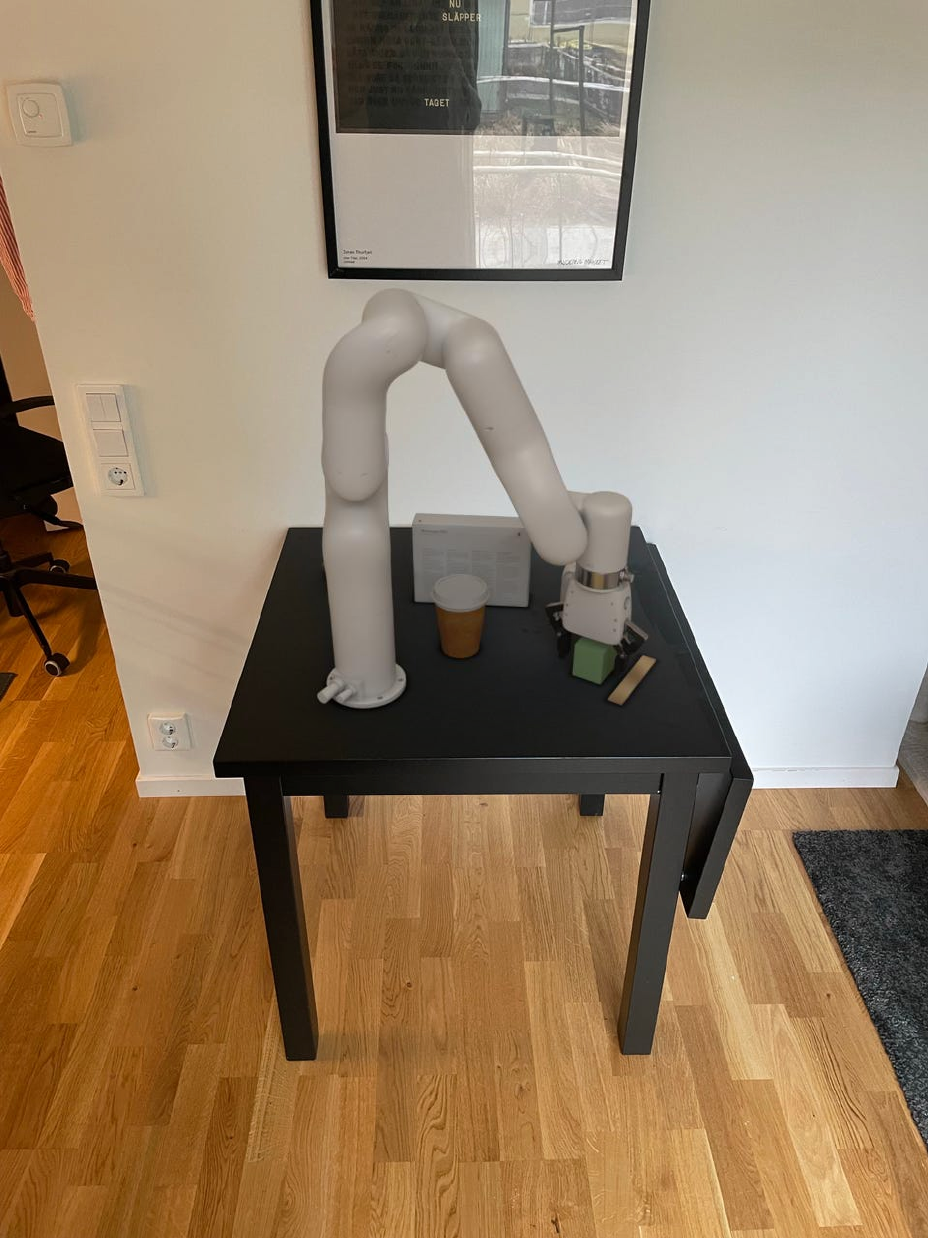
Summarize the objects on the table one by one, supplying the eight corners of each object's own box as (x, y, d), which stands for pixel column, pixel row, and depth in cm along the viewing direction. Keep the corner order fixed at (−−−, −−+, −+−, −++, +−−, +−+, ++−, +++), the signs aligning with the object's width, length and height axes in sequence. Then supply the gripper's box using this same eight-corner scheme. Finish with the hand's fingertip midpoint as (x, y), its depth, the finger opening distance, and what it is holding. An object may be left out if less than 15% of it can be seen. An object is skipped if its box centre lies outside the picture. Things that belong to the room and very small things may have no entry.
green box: (572, 674, 147) (574, 644, 144) (598, 645, 154) (601, 615, 151) (600, 684, 145) (603, 653, 141) (625, 654, 152) (629, 624, 149)
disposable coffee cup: (476, 627, 159) (476, 568, 152) (497, 656, 151) (498, 595, 145) (424, 638, 156) (423, 578, 149) (443, 668, 148) (442, 606, 142)
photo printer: (578, 631, 158) (583, 570, 151) (555, 626, 159) (559, 564, 152) (596, 603, 166) (602, 543, 159) (573, 598, 167) (578, 539, 160)
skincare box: (529, 593, 169) (532, 516, 160) (528, 608, 164) (531, 530, 156) (417, 587, 170) (415, 510, 162) (413, 602, 166) (410, 524, 157)
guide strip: (621, 705, 140) (622, 703, 140) (607, 700, 141) (607, 698, 141) (656, 661, 150) (656, 659, 150) (642, 656, 151) (642, 655, 151)
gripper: (663, 577, 136) (650, 669, 145) (560, 547, 143) (554, 637, 153) (643, 598, 130) (631, 693, 140) (538, 567, 138) (533, 658, 147)
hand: (591, 664), depth 146 cm, fingers open, 9 cm apart
